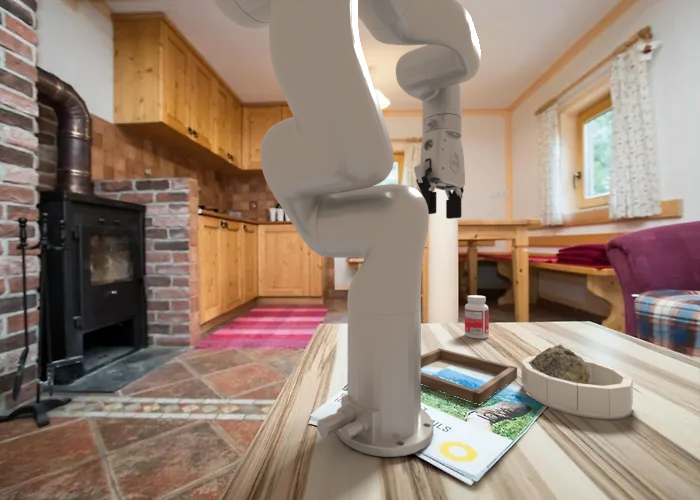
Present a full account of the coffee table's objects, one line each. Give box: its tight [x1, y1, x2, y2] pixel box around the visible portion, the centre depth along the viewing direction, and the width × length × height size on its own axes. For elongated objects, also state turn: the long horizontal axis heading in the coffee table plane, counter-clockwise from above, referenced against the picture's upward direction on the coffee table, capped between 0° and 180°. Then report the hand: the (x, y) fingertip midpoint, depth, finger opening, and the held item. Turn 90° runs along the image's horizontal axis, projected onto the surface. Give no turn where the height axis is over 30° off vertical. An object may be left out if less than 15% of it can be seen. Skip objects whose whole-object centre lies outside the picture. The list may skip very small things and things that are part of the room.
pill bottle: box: [464, 294, 490, 340], centre depth 87 cm, size 6×6×11 cm
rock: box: [532, 343, 590, 384], centre depth 51 cm, size 7×8×4 cm
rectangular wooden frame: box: [421, 348, 518, 405], centre depth 59 cm, size 16×16×2 cm
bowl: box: [521, 355, 634, 421], centre depth 50 cm, size 14×14×4 cm
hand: (441, 216), depth 63 cm, fingers open, 9 cm apart
